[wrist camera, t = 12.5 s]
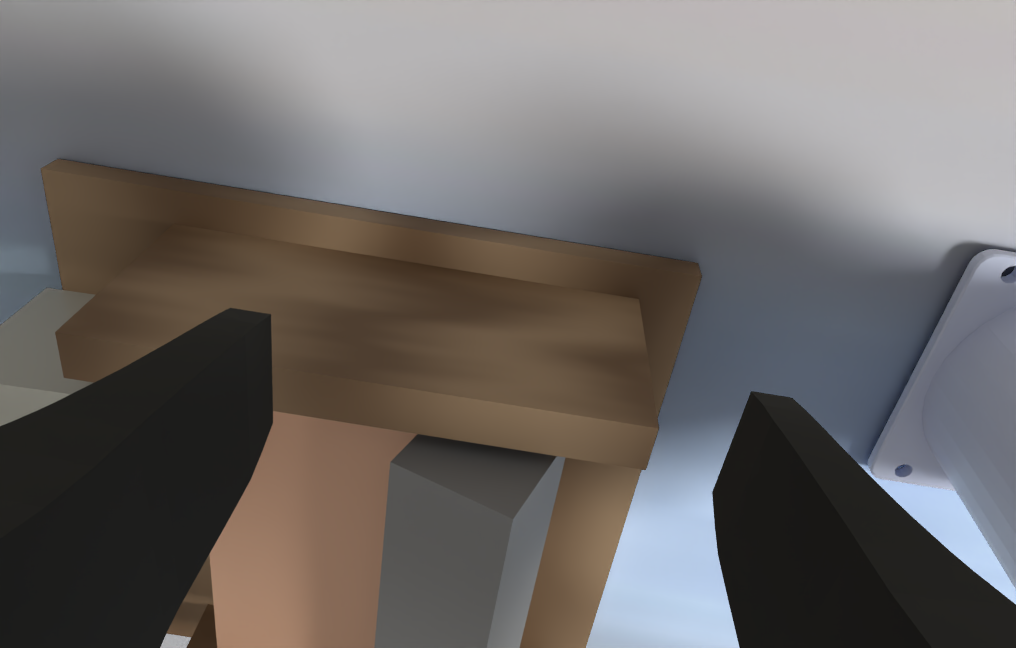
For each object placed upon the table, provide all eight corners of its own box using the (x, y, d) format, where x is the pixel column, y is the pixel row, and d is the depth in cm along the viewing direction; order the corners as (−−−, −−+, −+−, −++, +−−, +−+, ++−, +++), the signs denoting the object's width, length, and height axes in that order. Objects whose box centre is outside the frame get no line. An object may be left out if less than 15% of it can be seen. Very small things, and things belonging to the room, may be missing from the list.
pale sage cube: (142, 404, 19) (-62, 375, 19) (163, 534, 21) (-19, 508, 21) (215, 312, 23) (46, 287, 23) (225, 430, 25) (72, 409, 25)
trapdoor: (570, 436, 18) (513, 519, 16) (492, 758, 26) (444, 851, 23) (242, 298, 21) (149, 349, 19) (255, 621, 29) (189, 689, 26)
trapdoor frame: (697, 262, 22) (741, 402, 16) (570, 677, 32) (570, 852, 26) (57, 158, 21) (-124, 263, 16) (133, 609, 31) (38, 772, 26)
